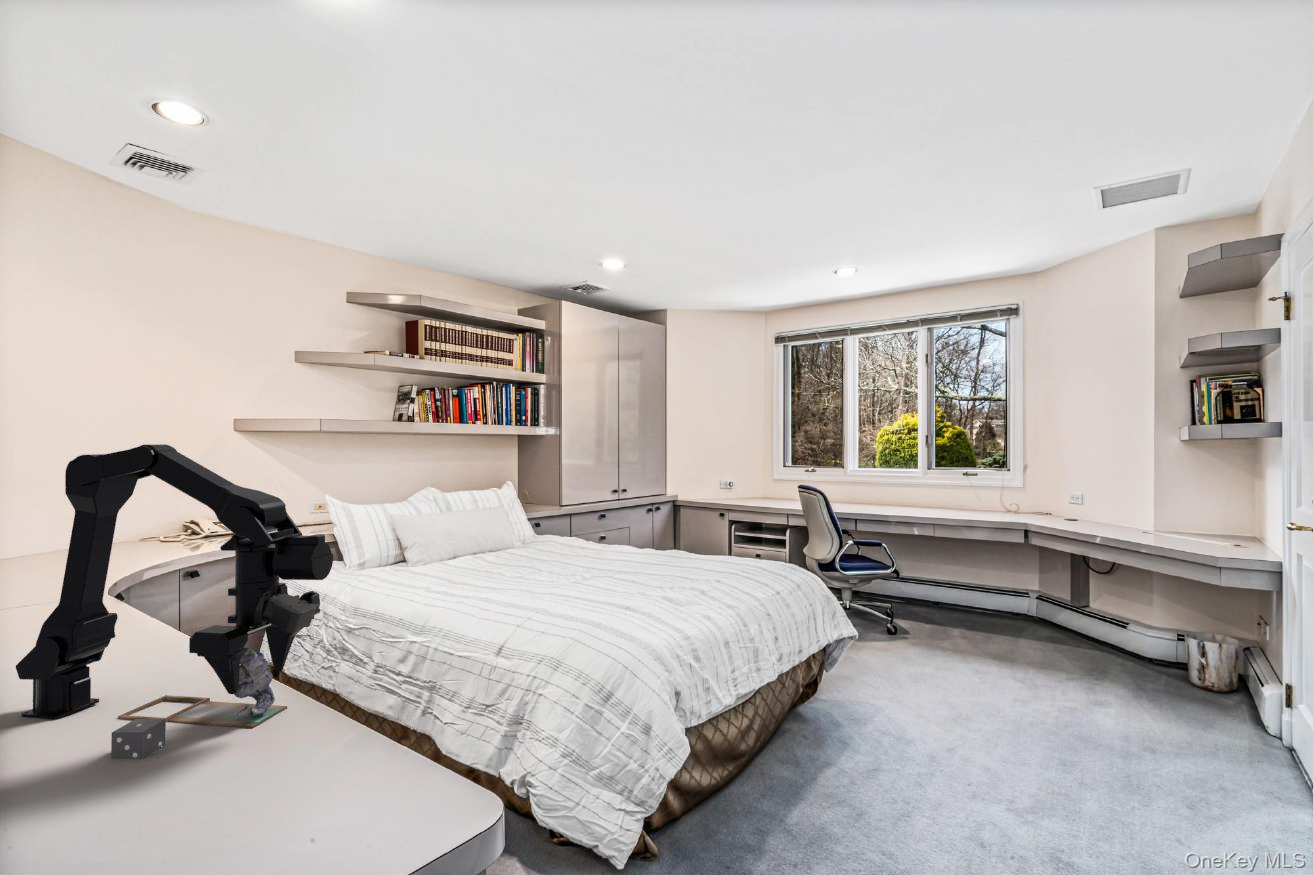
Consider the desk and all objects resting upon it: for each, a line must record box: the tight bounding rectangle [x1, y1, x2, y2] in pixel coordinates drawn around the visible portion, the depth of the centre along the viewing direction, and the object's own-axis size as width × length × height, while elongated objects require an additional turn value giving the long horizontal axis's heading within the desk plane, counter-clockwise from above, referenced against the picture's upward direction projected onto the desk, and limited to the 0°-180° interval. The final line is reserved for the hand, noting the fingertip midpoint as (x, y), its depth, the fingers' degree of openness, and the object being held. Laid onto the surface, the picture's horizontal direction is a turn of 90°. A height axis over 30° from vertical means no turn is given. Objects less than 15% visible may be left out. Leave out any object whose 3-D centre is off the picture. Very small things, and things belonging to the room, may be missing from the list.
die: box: [110, 719, 167, 760], centre depth 85 cm, size 4×4×4 cm
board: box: [167, 700, 288, 729], centre depth 97 cm, size 15×7×1 cm, turn 82°
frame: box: [117, 694, 211, 723], centre depth 98 cm, size 8×8×1 cm
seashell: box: [233, 649, 276, 718], centre depth 96 cm, size 5×5×10 cm
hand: (256, 681), depth 96 cm, fingers open, 9 cm apart
